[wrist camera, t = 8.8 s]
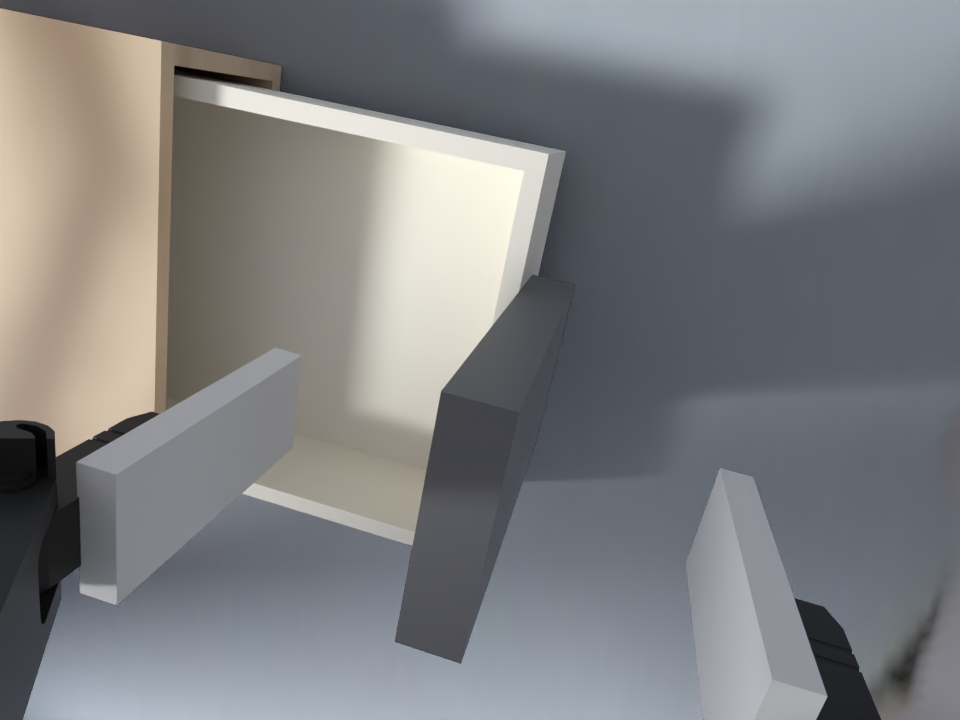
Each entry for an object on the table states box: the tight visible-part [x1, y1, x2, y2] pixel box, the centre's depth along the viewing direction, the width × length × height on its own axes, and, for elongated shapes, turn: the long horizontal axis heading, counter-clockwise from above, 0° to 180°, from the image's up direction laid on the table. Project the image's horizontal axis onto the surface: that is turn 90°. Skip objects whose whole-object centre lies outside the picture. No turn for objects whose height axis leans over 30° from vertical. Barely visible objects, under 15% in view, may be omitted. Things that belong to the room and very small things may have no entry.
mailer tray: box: [166, 69, 575, 664], centre depth 21 cm, size 22×14×14 cm, turn 79°
